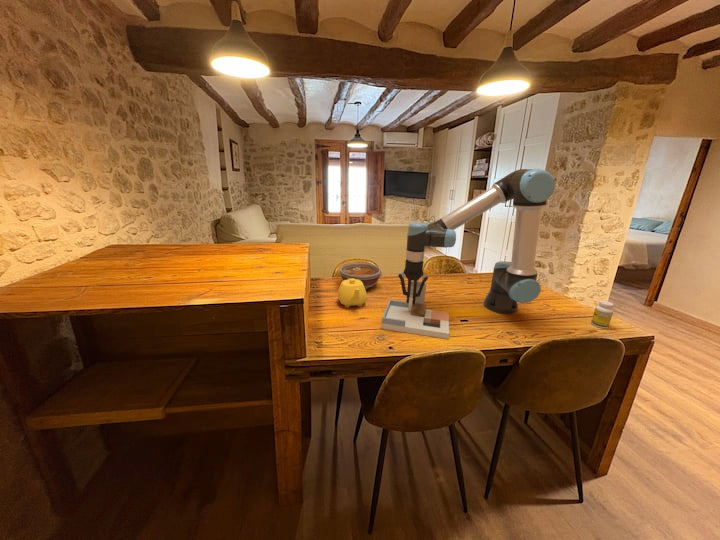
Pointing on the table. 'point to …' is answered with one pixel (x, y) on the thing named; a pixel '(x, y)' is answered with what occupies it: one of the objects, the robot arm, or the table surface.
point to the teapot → (352, 293)
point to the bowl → (361, 273)
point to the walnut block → (418, 309)
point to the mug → (422, 296)
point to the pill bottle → (602, 314)
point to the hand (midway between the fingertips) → (410, 309)
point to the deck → (415, 321)
